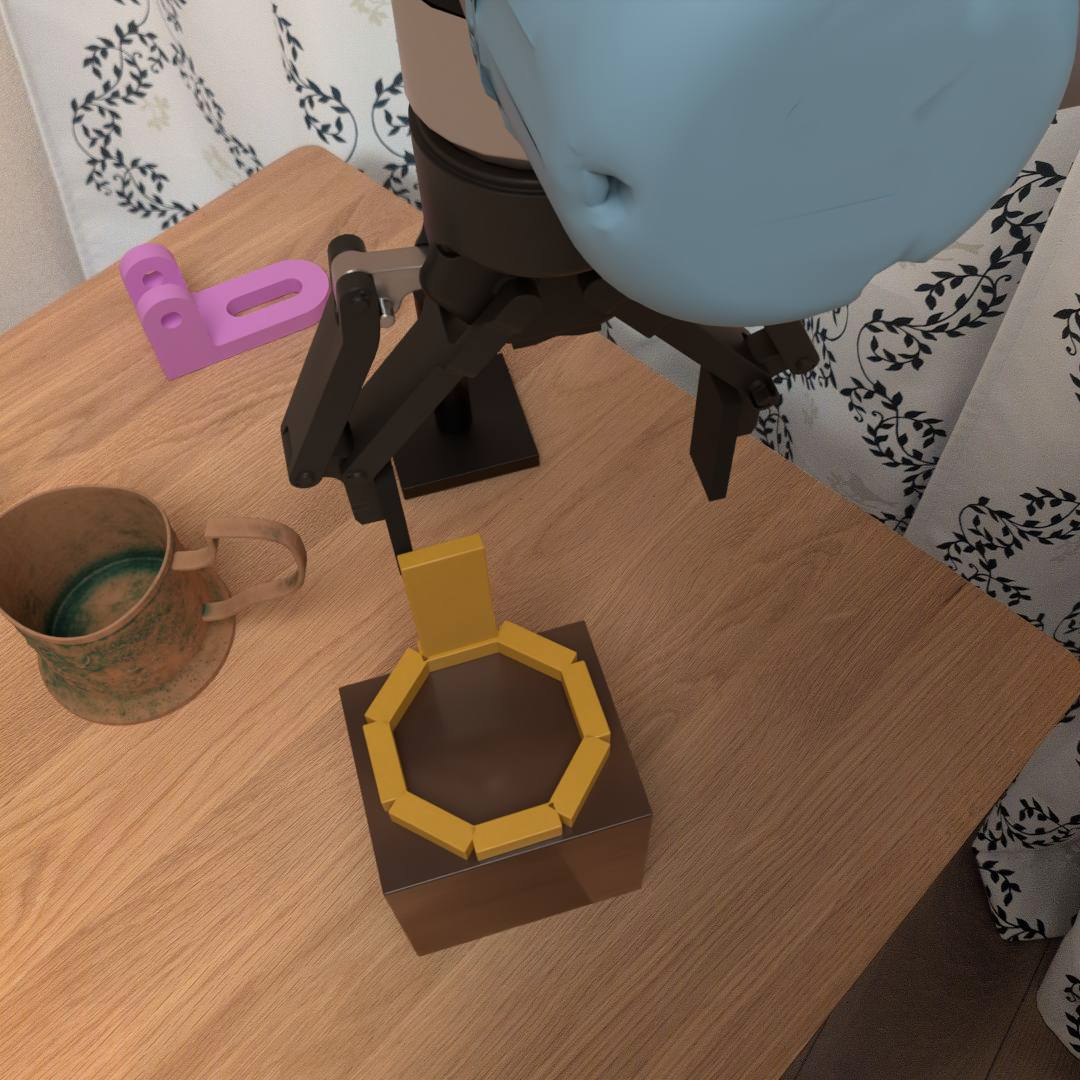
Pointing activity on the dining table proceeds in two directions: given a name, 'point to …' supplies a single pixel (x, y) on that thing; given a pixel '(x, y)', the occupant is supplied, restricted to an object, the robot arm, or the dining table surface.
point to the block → (499, 797)
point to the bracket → (217, 308)
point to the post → (467, 434)
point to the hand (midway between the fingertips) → (557, 511)
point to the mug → (124, 599)
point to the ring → (456, 637)
